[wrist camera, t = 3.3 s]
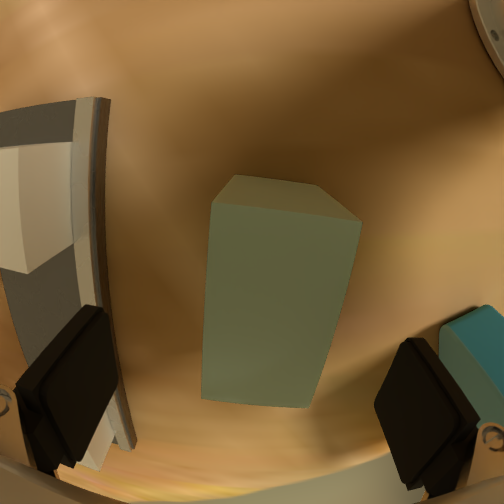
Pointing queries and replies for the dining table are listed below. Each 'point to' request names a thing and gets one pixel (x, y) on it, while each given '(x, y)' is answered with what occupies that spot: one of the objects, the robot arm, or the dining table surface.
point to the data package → (477, 360)
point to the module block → (273, 290)
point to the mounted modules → (41, 229)
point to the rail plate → (84, 234)
